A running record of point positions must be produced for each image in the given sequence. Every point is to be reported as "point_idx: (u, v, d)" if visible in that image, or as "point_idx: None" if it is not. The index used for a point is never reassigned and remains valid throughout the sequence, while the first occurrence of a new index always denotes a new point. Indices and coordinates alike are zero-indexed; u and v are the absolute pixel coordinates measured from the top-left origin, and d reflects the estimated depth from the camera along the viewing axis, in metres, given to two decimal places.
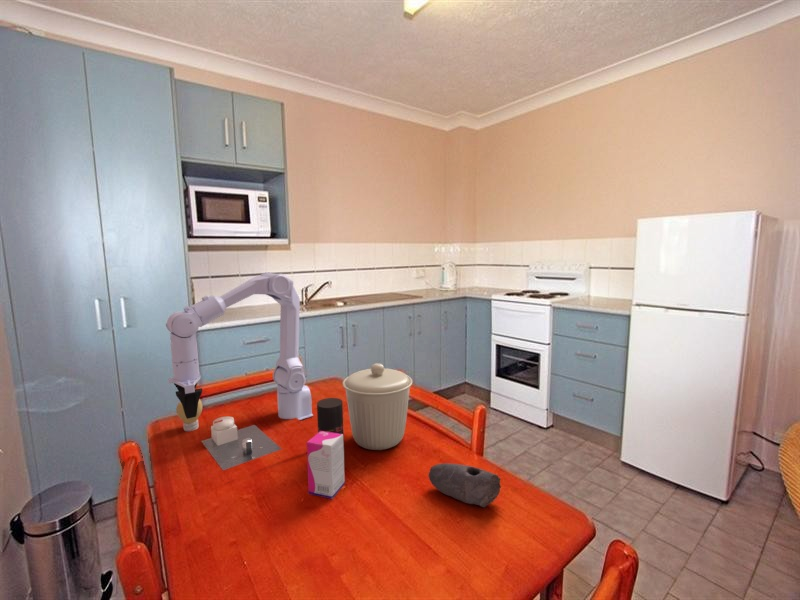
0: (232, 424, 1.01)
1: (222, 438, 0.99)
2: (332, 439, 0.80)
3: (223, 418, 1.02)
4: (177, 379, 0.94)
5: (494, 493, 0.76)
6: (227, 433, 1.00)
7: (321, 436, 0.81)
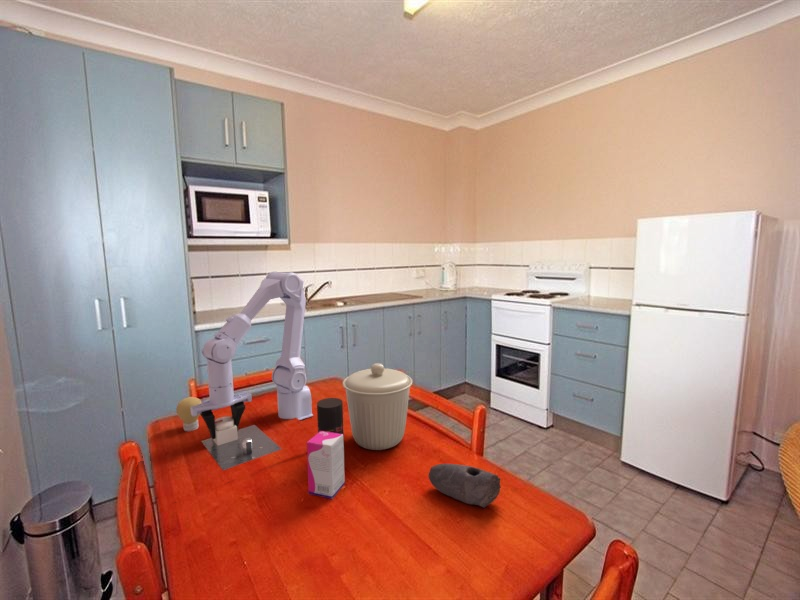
0: (232, 424, 1.01)
1: (222, 438, 0.99)
2: (332, 439, 0.80)
3: (223, 418, 1.02)
4: None
5: (494, 493, 0.76)
6: (227, 433, 1.00)
7: (321, 436, 0.82)
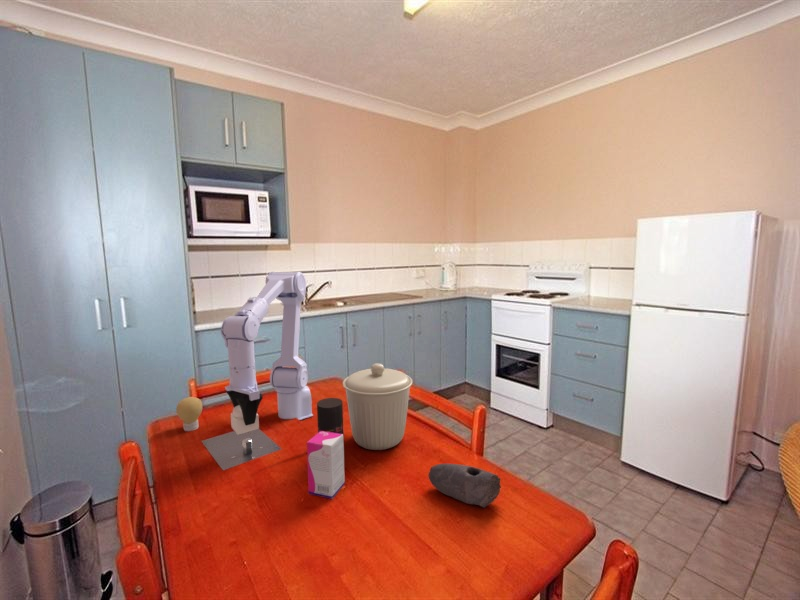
0: None
1: None
2: (332, 439, 0.80)
3: (237, 408, 0.93)
4: (236, 386, 0.90)
5: (494, 493, 0.76)
6: None
7: (321, 436, 0.82)
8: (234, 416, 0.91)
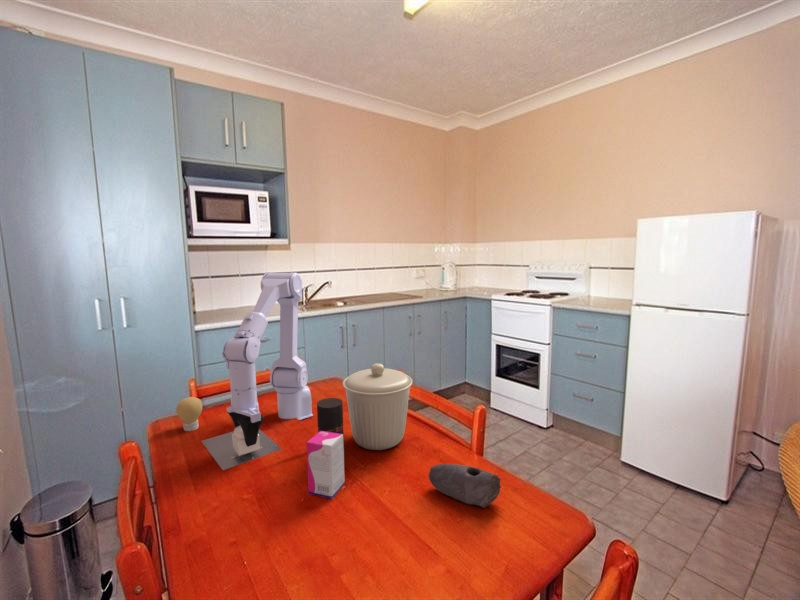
0: None
1: None
2: (332, 439, 0.80)
3: (239, 429, 0.93)
4: (238, 408, 0.90)
5: (494, 493, 0.76)
6: None
7: (321, 436, 0.82)
8: (235, 437, 0.92)
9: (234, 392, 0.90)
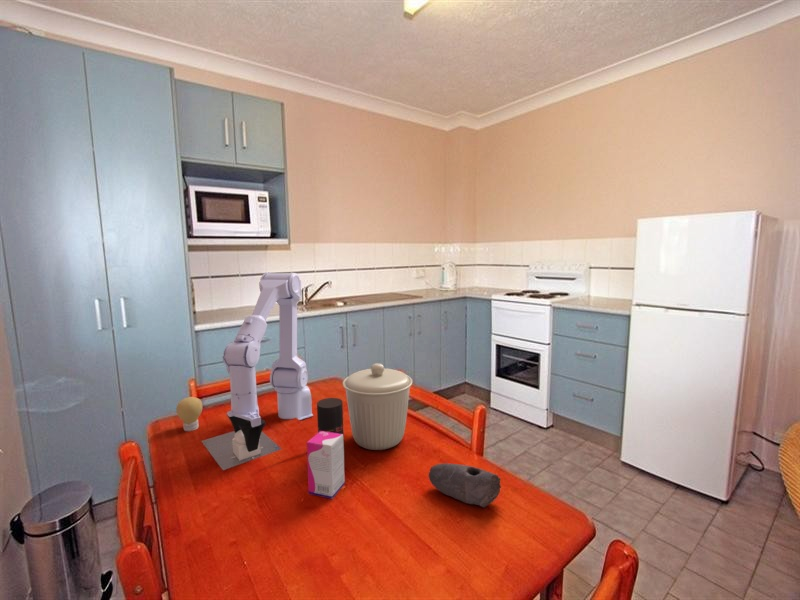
0: None
1: None
2: (332, 439, 0.80)
3: (239, 434, 0.94)
4: (238, 412, 0.91)
5: (494, 493, 0.76)
6: None
7: (321, 436, 0.82)
8: (236, 442, 0.92)
9: (234, 396, 0.90)
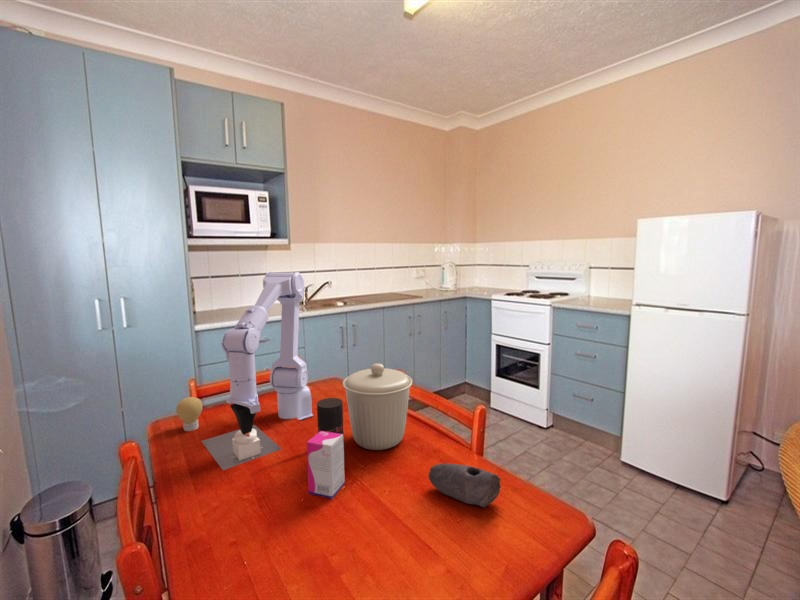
0: None
1: None
2: (332, 439, 0.80)
3: (239, 434, 0.94)
4: (237, 399, 0.90)
5: (494, 493, 0.76)
6: None
7: (321, 436, 0.82)
8: (236, 442, 0.92)
9: (233, 383, 0.90)
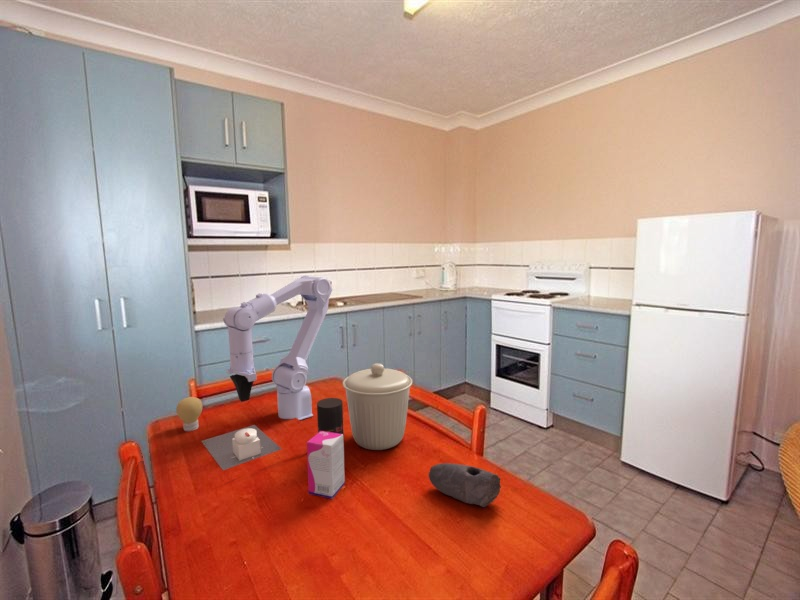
0: None
1: None
2: (332, 439, 0.80)
3: (239, 434, 0.94)
4: (236, 369, 1.01)
5: (494, 493, 0.76)
6: None
7: (321, 436, 0.82)
8: (236, 442, 0.92)
9: (233, 355, 1.01)
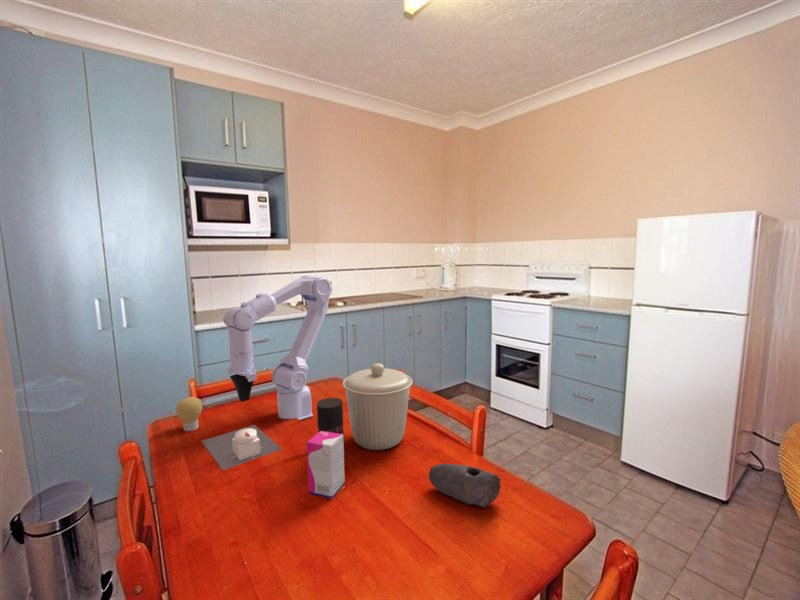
0: None
1: None
2: (332, 439, 0.80)
3: (239, 434, 0.94)
4: (236, 369, 1.01)
5: (494, 493, 0.76)
6: None
7: (321, 436, 0.82)
8: (236, 442, 0.92)
9: (233, 355, 1.01)
